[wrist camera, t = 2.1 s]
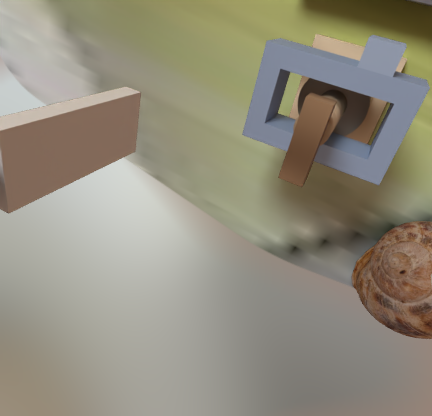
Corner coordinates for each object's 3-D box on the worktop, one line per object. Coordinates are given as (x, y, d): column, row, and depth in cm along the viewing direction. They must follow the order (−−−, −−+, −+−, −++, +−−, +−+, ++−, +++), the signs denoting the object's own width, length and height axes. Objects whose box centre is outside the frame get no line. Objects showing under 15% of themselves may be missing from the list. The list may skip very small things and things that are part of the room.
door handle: (317, 33, 29) (262, 44, 18) (406, 58, 27) (410, 87, 16) (290, 117, 33) (230, 170, 21) (367, 143, 31) (346, 217, 19)
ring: (257, 124, 28) (242, 134, 25) (288, 12, 24) (274, 11, 21) (381, 168, 26) (379, 185, 23) (440, 52, 21) (445, 57, 19)
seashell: (331, 224, 35) (388, 272, 25) (421, 193, 35) (512, 228, 25) (354, 313, 38) (412, 385, 28) (436, 284, 38) (523, 347, 28)
